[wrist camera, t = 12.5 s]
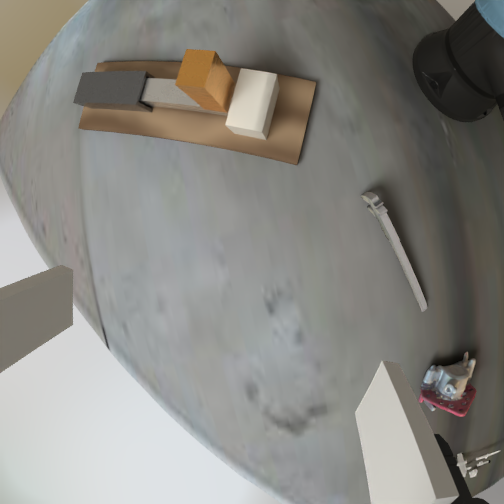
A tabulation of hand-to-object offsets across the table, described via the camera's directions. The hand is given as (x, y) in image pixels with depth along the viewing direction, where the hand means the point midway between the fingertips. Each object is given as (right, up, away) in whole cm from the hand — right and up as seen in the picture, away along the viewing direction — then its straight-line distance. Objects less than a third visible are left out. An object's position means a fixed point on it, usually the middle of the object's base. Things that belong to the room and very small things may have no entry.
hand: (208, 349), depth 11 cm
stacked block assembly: (-8, +25, +26) cm, 37 cm away
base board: (-8, +26, +29) cm, 39 cm away
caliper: (+23, +3, +29) cm, 37 cm away
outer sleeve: (-18, +28, +28) cm, 44 cm away
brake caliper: (+35, -18, +32) cm, 50 cm away
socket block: (+2, +22, +26) cm, 35 cm away
